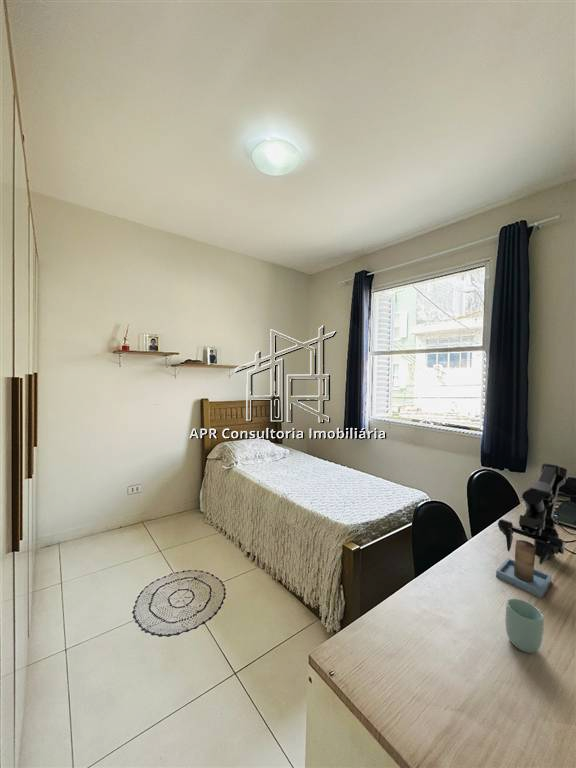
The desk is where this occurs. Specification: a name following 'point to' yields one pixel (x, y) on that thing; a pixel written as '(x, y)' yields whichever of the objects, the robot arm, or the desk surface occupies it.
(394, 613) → the desk surface
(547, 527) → the robot arm
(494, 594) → the desk surface
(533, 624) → the cup
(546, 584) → the desk tray
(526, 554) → the cup
